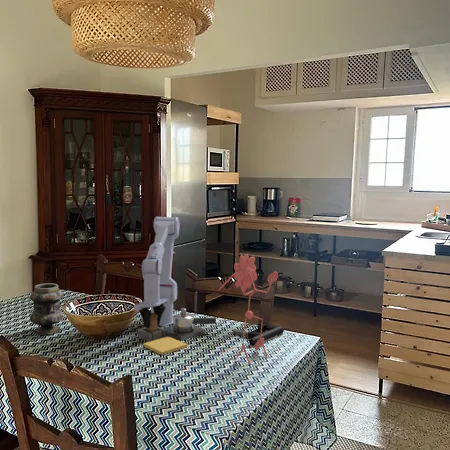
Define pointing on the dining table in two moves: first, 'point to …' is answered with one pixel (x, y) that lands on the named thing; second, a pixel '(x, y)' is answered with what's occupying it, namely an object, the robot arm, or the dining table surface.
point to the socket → (151, 334)
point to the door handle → (254, 335)
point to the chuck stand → (184, 333)
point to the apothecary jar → (46, 308)
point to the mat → (165, 345)
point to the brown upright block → (153, 323)
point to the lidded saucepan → (188, 321)
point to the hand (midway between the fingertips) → (151, 325)
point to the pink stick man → (244, 280)
